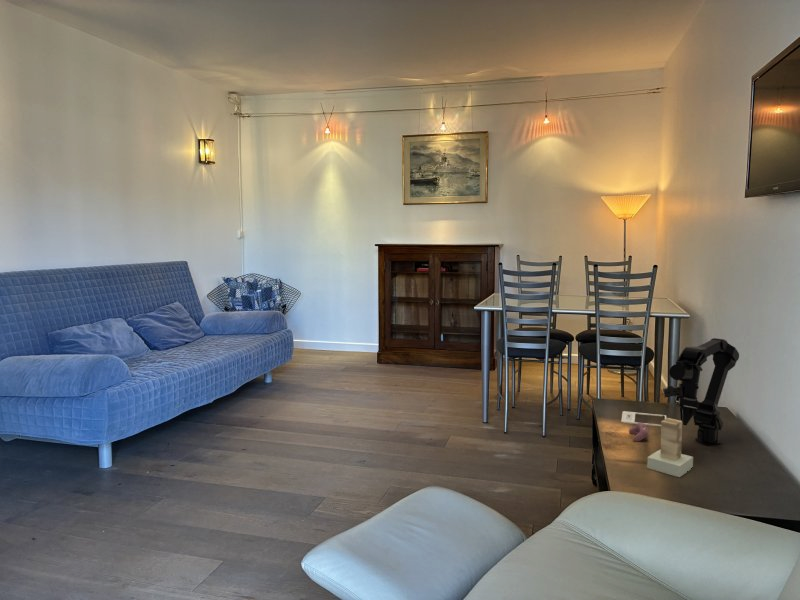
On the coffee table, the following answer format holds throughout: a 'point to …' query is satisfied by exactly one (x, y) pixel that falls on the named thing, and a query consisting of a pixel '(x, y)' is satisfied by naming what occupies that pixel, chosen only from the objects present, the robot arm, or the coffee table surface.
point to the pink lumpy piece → (639, 431)
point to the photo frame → (630, 417)
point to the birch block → (671, 439)
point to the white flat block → (670, 464)
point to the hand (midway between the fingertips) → (683, 423)
